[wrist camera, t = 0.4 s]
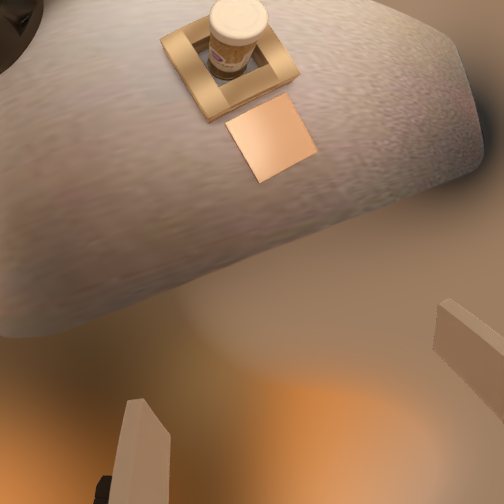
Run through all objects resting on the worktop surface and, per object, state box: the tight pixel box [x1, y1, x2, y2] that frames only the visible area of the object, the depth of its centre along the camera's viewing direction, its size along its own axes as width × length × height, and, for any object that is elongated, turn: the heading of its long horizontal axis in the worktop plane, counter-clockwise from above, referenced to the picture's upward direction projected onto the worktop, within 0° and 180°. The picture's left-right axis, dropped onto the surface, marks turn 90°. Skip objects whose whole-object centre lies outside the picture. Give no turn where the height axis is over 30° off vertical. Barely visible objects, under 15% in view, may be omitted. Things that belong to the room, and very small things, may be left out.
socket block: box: [160, 15, 300, 123], centre depth 27 cm, size 11×11×4 cm
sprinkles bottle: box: [208, 0, 268, 80], centre depth 23 cm, size 5×5×13 cm
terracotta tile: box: [225, 93, 318, 183], centre depth 32 cm, size 8×8×1 cm
